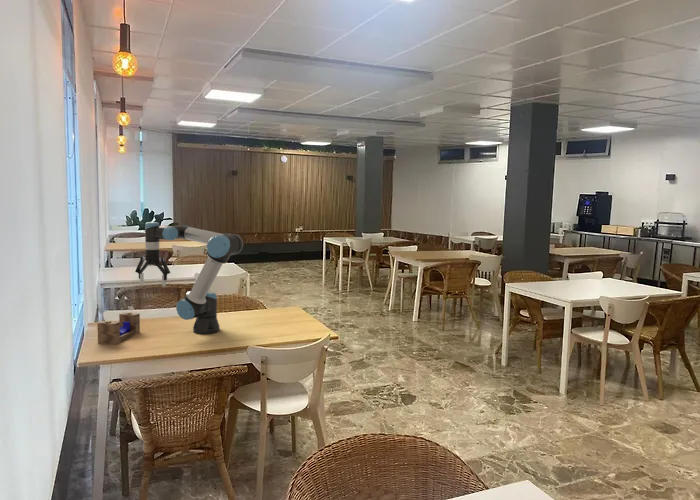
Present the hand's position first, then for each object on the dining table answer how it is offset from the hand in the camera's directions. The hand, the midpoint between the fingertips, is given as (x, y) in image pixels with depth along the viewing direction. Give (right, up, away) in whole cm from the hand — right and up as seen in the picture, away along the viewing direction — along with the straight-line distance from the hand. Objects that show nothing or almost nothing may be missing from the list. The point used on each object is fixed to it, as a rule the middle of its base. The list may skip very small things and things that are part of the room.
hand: (152, 285), depth 293 cm
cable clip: (-13, -27, -14) cm, 33 cm away
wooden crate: (-13, -28, -14) cm, 34 cm away
